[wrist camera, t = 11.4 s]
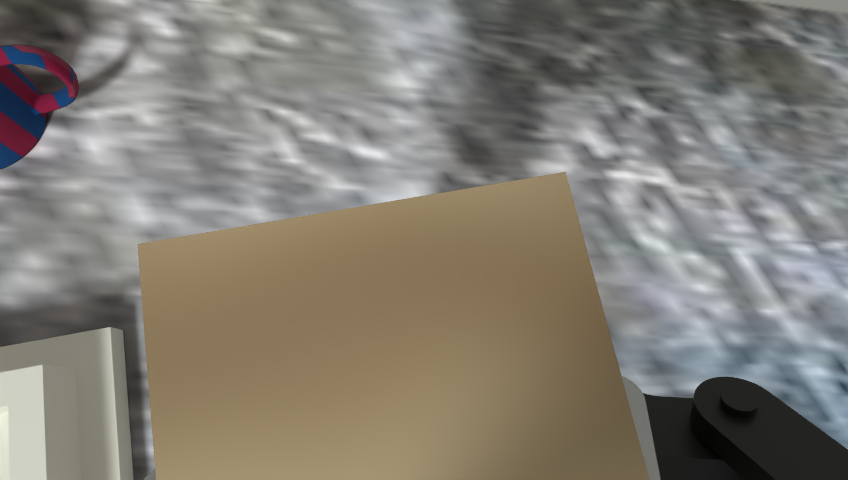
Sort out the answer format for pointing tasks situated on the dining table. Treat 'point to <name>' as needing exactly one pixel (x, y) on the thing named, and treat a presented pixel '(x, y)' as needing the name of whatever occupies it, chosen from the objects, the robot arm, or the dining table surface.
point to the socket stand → (65, 408)
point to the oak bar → (388, 345)
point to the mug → (28, 99)
